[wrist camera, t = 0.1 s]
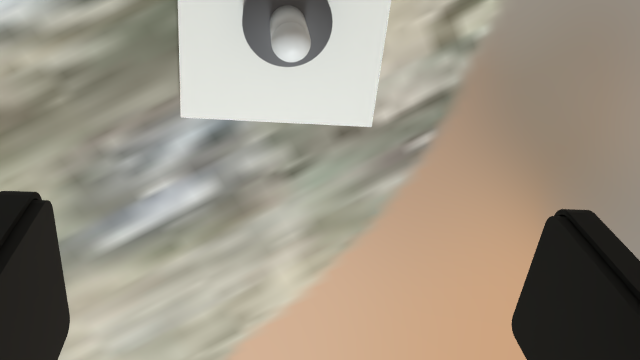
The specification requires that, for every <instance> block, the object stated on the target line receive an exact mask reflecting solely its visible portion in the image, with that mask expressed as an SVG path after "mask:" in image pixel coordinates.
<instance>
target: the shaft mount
mask: <svg viewBox="0 0 640 360" xmlns="http://www.w3.org/2000/svg"><path fill="white" fill-rule="evenodd" d="M390 5H391V0H178V25H179V64H180V103H181V117H184V118H204V119H223V120H243V121H263V122H283V123H302V124H322V125H342V126H362V127H372V121H373V114H374V108H375V101H376V95H377V88H378V82H379V76H380V69H381V63H382V56H383V50H384V43H385V37H386V30H387V24H388V17H389V11H390Z"/></svg>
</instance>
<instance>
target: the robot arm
mask: <svg viewBox="0 0 640 360" xmlns="http://www.w3.org/2000/svg"><path fill="white" fill-rule="evenodd" d="M69 323H70V315H69V308H68V302H67V295H66V289H65V283H64V276H63V270H62V264H61V257H60V251H59V245H58V238H57V232H56V226H55V219H54V213H53V207H52V204H51V202H50V201H47V200H42V199H41V196H40V195H39V193H37V192H20V191H1V192H0V360H58V357H59V355H60V352H61V350H62V347H63V345H64V342H65V340H66V337H67V334H68V330H69ZM512 331H513V334H514V336H515V339H516V340H517V342H518V344H519V346H520V348H521V350H522V351H523V353H524V355H525V357H526V359H527V360H640V261H639V260H638V259H637V258H636V257H635V256H634V254H633V253H632V252H631V251H630V250H629V249H628V248H627V247H626V246H625V245H624V244H623V243H622V242H621V241H620V240H619V239H618V238H617V237H616V236H615V234H614V233H613V232H612V231H611V230H610V229H609V228H608V227H607V226H606V225H605V224H604V223H603V222H602V221H601V220H600V219H599V218H598V217H597V216H596V215H595V213H593V212H592V211H589V210H569V209H568V210H567V209H561V210H559V211H557V212H556V214H555V215H554V216H551V217H549V218H548V219H547V221H546V223H545V226H544V229H543V232H542V234H541V237H540V240H539V243H538V246H537V249H536V252H535V254H534V257H533V260H532V263H531V266H530V269H529V272H528V274H527V277H526V280H525V283H524V286H523V289H522V292H521V295H520V298H519V300H518V303H517V306H516V309H515V312H514V315H513V318H512Z"/></svg>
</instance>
